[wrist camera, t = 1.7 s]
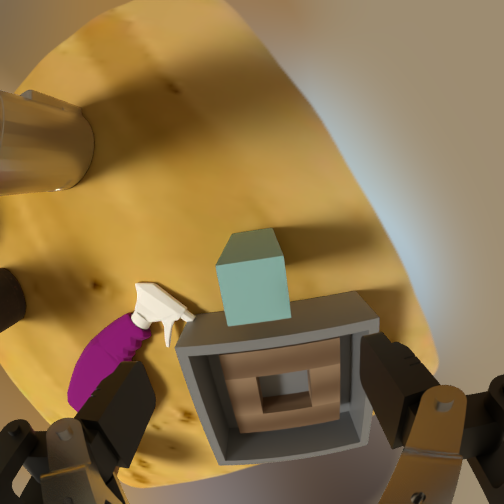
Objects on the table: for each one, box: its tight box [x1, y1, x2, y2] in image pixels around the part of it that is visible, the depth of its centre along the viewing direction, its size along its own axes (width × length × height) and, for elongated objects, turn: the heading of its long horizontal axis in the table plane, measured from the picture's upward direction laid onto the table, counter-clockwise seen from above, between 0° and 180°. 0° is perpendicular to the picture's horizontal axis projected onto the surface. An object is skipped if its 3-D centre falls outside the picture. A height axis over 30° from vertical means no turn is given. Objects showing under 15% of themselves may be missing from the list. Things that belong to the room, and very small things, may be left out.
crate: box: [175, 291, 380, 465], centre depth 29 cm, size 18×18×7 cm
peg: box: [216, 228, 291, 326], centre depth 23 cm, size 4×4×12 cm
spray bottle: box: [67, 283, 196, 412], centre depth 31 cm, size 3×11×24 cm
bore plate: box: [219, 336, 340, 433], centre depth 30 cm, size 12×12×3 cm
